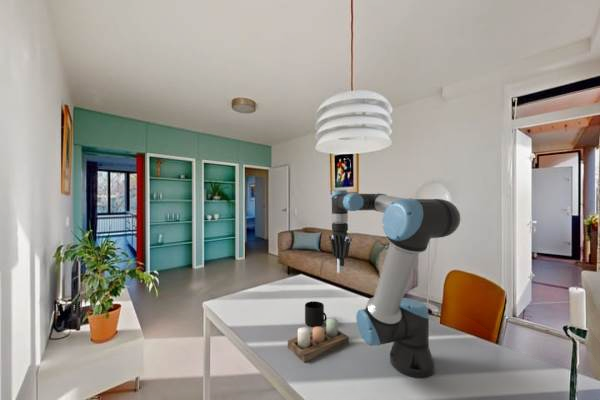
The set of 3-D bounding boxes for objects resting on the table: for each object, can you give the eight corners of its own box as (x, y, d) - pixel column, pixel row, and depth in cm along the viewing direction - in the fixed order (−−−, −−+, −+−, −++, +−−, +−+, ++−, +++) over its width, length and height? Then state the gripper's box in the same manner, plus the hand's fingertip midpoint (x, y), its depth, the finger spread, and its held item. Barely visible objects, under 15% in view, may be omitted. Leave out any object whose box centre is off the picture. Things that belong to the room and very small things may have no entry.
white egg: (312, 346, 102) (312, 331, 102) (302, 350, 99) (302, 334, 99) (305, 340, 106) (305, 326, 106) (295, 344, 103) (295, 329, 103)
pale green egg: (340, 335, 110) (340, 321, 110) (331, 338, 107) (331, 324, 107) (332, 330, 114) (332, 317, 114) (324, 333, 111) (324, 319, 111)
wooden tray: (348, 343, 108) (348, 336, 108) (304, 362, 95) (304, 354, 95) (330, 331, 118) (330, 325, 118) (287, 347, 105) (287, 340, 105)
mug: (320, 331, 118) (320, 311, 118) (301, 323, 126) (301, 305, 126) (331, 324, 125) (331, 305, 126) (312, 317, 133) (312, 299, 133)
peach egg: (327, 344, 106) (326, 330, 106) (317, 348, 103) (317, 333, 103) (319, 339, 110) (319, 325, 110) (310, 342, 107) (310, 328, 107)
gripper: (355, 222, 117) (356, 274, 117) (335, 221, 128) (336, 268, 127) (344, 223, 113) (344, 276, 112) (324, 222, 123) (325, 270, 123)
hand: (340, 272), depth 120 cm, fingers closed
